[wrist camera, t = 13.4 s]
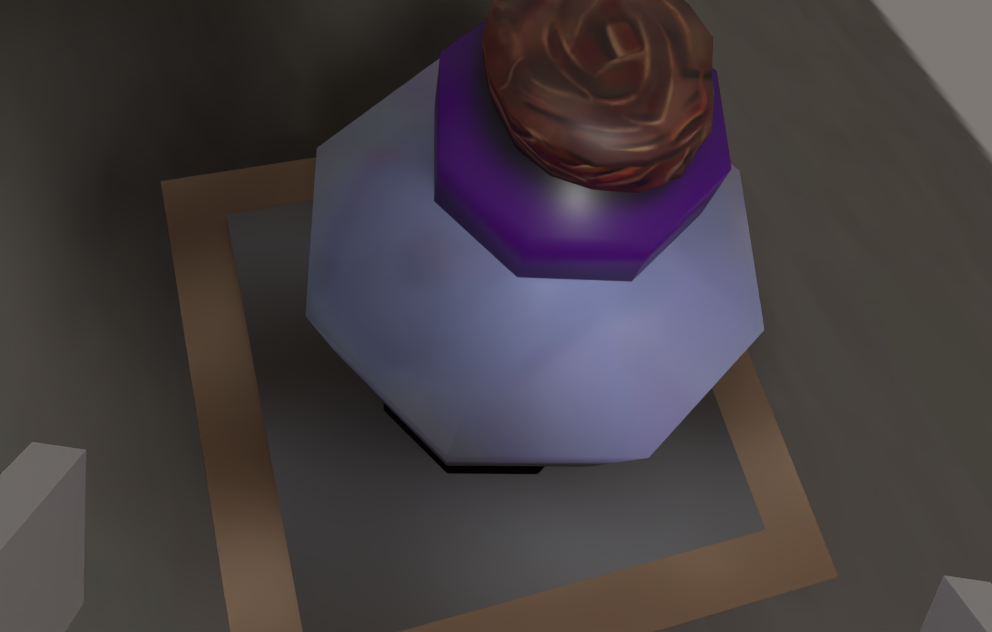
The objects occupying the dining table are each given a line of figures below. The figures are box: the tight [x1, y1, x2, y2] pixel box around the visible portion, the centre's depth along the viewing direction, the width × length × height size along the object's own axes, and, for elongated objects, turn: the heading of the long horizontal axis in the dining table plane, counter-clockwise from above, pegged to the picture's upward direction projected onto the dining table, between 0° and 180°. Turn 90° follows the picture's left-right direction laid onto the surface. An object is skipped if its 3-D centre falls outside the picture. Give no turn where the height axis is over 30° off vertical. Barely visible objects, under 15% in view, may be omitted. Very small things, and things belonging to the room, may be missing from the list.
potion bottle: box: [305, 0, 764, 474], centre depth 17 cm, size 9×9×12 cm
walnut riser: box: [161, 157, 838, 632], centre depth 24 cm, size 14×14×4 cm
